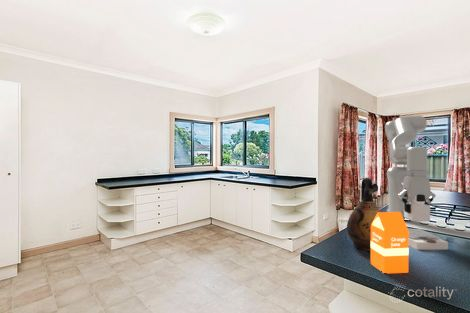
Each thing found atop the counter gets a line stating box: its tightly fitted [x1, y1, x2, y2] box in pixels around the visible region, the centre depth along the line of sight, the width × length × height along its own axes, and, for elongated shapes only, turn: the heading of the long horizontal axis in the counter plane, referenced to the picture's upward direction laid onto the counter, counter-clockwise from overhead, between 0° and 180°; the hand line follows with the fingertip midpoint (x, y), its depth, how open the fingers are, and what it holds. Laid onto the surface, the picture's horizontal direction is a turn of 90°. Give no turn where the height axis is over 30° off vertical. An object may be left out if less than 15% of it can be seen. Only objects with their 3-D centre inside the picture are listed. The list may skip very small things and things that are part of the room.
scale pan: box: [408, 228, 439, 239], centre depth 113 cm, size 11×11×1 cm
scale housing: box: [408, 237, 449, 251], centre depth 112 cm, size 17×13×4 cm
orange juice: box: [370, 211, 410, 274], centre depth 88 cm, size 8×9×20 cm
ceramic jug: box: [346, 177, 381, 252], centre depth 108 cm, size 17×15×30 cm
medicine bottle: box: [404, 194, 431, 222], centre depth 113 cm, size 7×7×12 cm
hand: (416, 212), depth 113 cm, fingers closed on medicine bottle, 7 cm apart
